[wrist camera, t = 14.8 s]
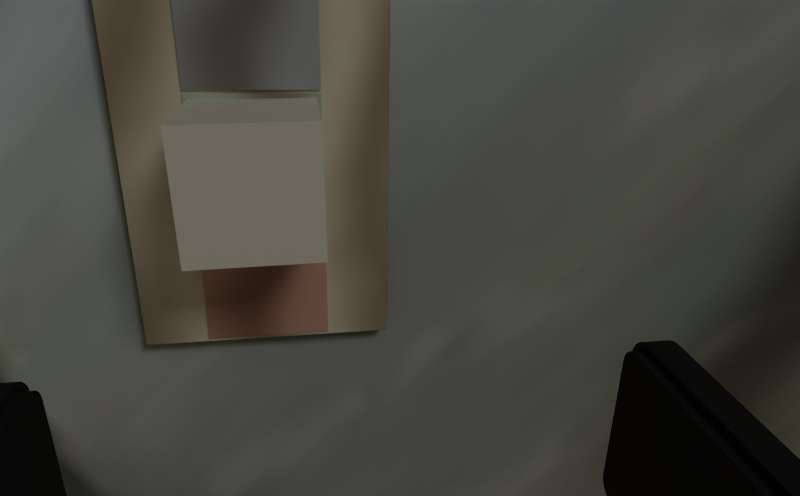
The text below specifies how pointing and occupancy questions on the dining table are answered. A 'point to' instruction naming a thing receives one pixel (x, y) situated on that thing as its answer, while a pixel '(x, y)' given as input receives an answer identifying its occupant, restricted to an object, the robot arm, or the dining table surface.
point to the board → (254, 79)
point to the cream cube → (247, 182)
